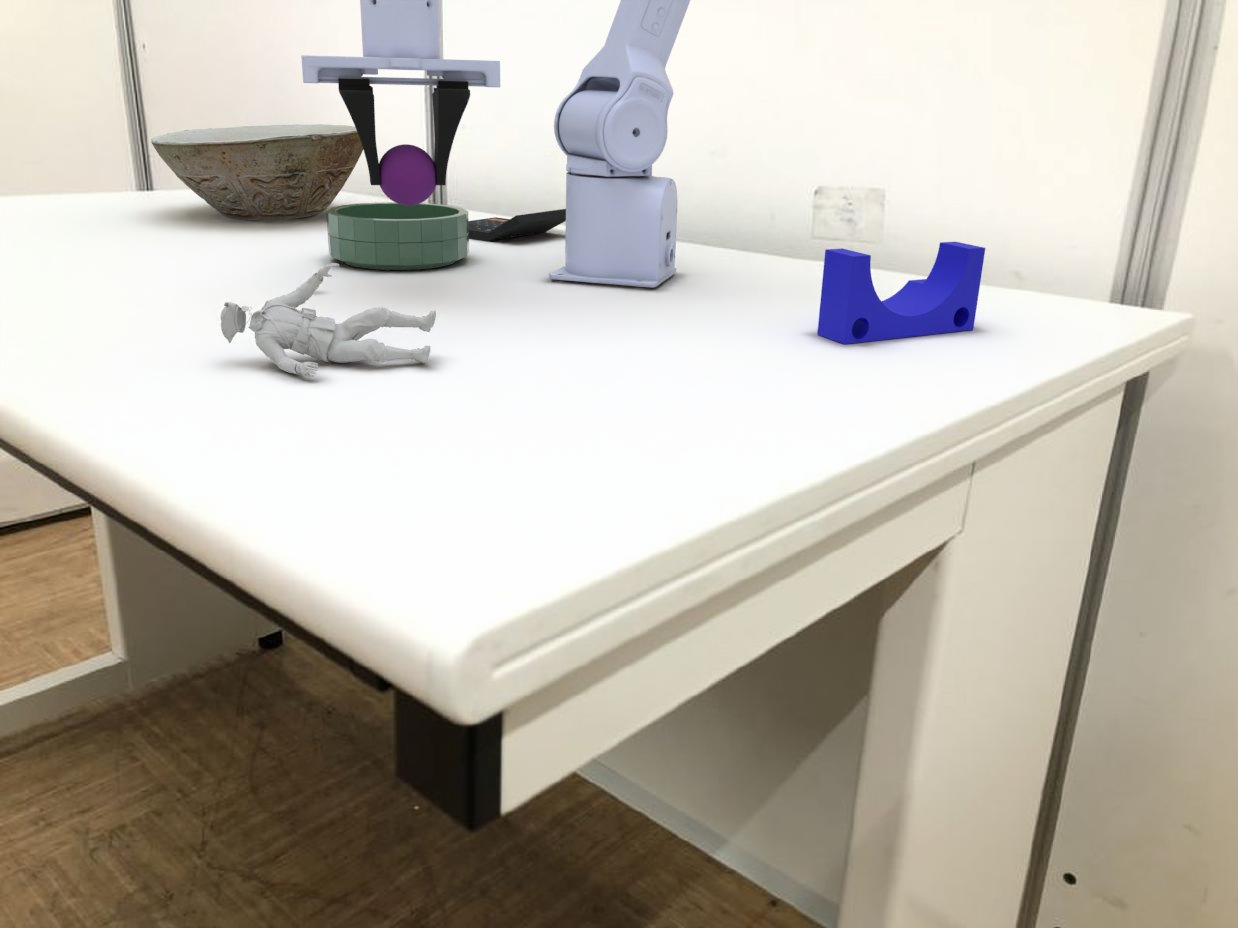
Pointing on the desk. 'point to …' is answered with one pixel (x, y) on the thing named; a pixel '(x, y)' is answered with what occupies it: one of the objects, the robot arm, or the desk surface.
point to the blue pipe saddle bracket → (899, 297)
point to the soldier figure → (320, 330)
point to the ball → (407, 174)
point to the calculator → (515, 225)
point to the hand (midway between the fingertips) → (407, 184)
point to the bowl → (263, 167)
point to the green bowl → (398, 235)
